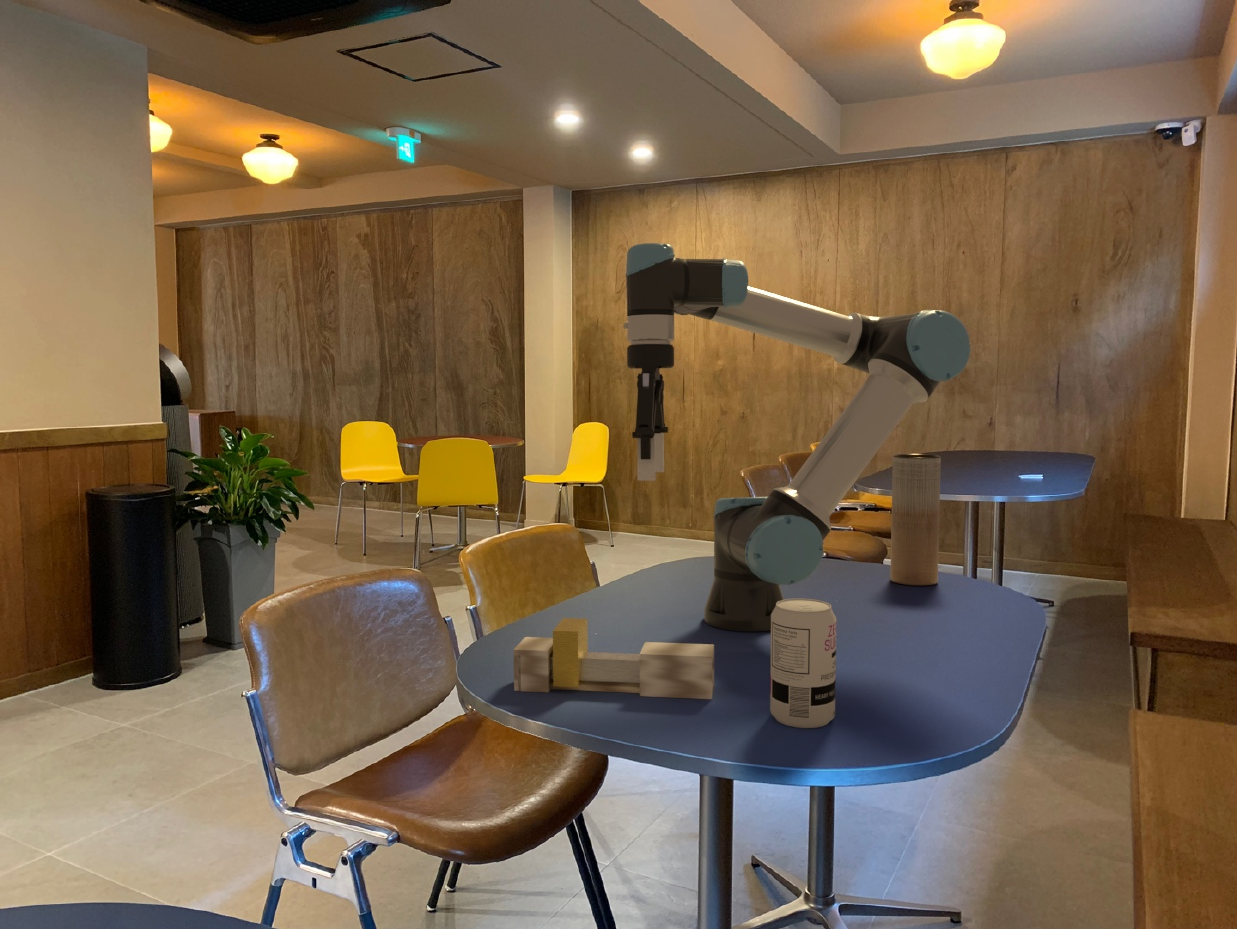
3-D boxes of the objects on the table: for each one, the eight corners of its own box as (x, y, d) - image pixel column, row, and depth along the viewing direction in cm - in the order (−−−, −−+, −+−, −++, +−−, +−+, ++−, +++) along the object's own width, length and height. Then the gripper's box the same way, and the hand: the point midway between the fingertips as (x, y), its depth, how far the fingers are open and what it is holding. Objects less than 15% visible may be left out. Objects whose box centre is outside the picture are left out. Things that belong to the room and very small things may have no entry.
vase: (944, 586, 194) (947, 457, 191) (897, 586, 194) (900, 457, 192) (929, 576, 204) (931, 453, 201) (884, 576, 204) (887, 453, 201)
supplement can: (763, 708, 121) (764, 598, 120) (823, 706, 122) (825, 596, 121) (779, 731, 113) (780, 613, 112) (843, 728, 114) (845, 611, 113)
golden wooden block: (663, 675, 132) (663, 621, 132) (657, 691, 125) (657, 634, 125) (533, 669, 135) (532, 617, 135) (521, 684, 128) (520, 629, 128)
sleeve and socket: (714, 684, 131) (714, 644, 130) (711, 700, 124) (711, 657, 124) (526, 676, 135) (525, 636, 135) (514, 690, 129) (513, 649, 128)
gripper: (637, 347, 157) (638, 468, 159) (615, 340, 132) (616, 484, 134) (680, 346, 156) (680, 469, 158) (666, 339, 131) (667, 484, 133)
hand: (651, 476), depth 146 cm, fingers open, 13 cm apart
